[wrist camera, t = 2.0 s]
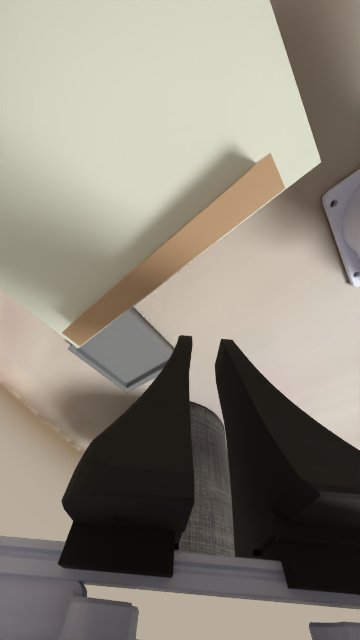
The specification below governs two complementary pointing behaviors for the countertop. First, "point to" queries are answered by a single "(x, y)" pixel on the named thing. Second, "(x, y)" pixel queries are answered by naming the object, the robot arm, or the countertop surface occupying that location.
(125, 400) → the countertop surface
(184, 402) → the robot arm
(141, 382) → the tray
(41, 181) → the lid
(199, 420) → the planter
